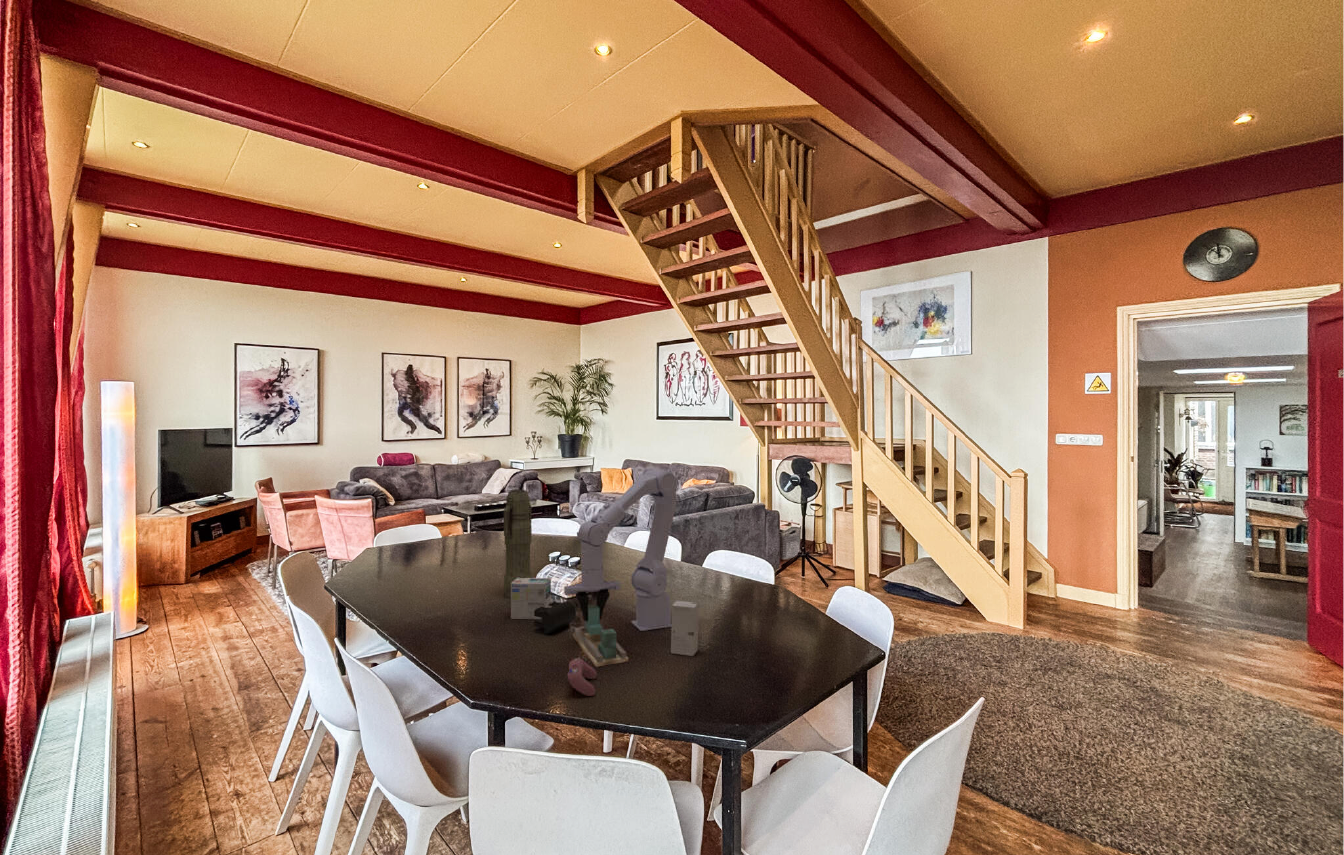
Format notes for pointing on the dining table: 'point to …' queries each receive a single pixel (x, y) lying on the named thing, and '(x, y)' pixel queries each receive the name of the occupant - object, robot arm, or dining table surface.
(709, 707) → the dining table surface
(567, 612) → the black lumpy piece
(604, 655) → the wooden tray
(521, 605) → the light bulb box
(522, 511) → the thermos
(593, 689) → the maroon curved piece
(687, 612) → the skincare box
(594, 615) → the teal l-shaped block
